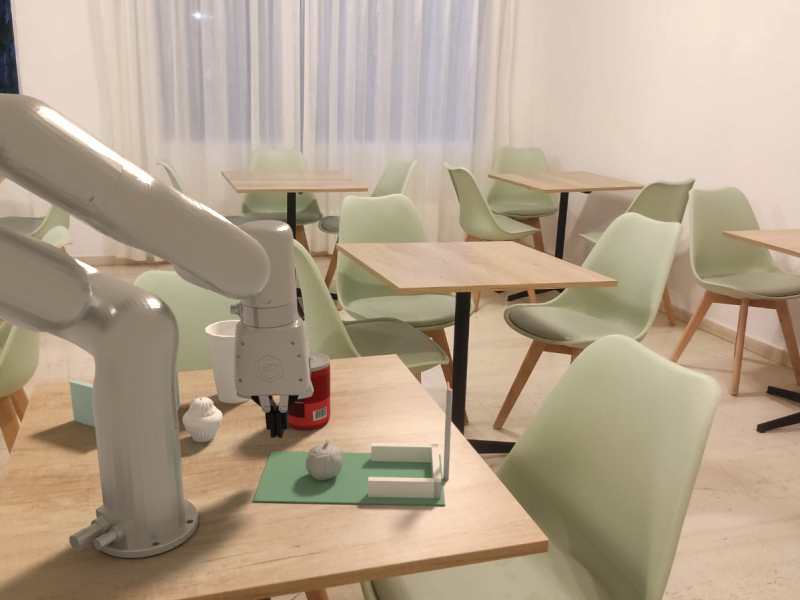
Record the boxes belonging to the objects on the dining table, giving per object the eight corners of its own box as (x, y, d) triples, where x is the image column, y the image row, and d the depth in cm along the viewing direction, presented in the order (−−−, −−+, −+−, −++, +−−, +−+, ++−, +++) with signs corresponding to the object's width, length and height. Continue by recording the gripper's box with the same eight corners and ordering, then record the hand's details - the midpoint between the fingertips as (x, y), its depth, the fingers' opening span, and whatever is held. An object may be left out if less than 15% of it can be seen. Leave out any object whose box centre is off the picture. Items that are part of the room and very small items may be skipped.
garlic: (324, 461, 110) (324, 430, 109) (352, 472, 107) (352, 440, 106) (296, 478, 105) (296, 445, 104) (325, 490, 102) (324, 456, 101)
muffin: (183, 431, 119) (180, 392, 117) (221, 427, 121) (219, 387, 119) (184, 449, 113) (181, 408, 111) (225, 444, 115) (223, 403, 113)
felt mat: (253, 501, 100) (253, 500, 99) (271, 452, 113) (271, 451, 113) (444, 505, 99) (445, 504, 99) (440, 455, 113) (440, 454, 113)
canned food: (334, 411, 127) (334, 352, 124) (325, 432, 120) (324, 369, 117) (291, 409, 128) (289, 349, 125) (279, 429, 120) (277, 367, 117)
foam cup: (221, 384, 138) (217, 318, 134) (268, 387, 137) (266, 321, 133) (201, 405, 129) (196, 335, 125) (251, 409, 128) (248, 338, 124)
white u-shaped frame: (368, 498, 101) (368, 404, 97) (371, 458, 111) (372, 373, 108) (450, 499, 101) (454, 406, 97) (446, 460, 111) (450, 374, 108)
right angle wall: (180, 411, 128) (177, 371, 125) (127, 439, 117) (123, 396, 115) (129, 397, 133) (125, 358, 131) (74, 423, 122) (69, 381, 120)
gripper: (207, 322, 96) (219, 447, 102) (321, 321, 96) (327, 446, 102) (221, 304, 103) (232, 421, 109) (327, 303, 103) (332, 420, 109)
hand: (278, 433), depth 105 cm, fingers closed
